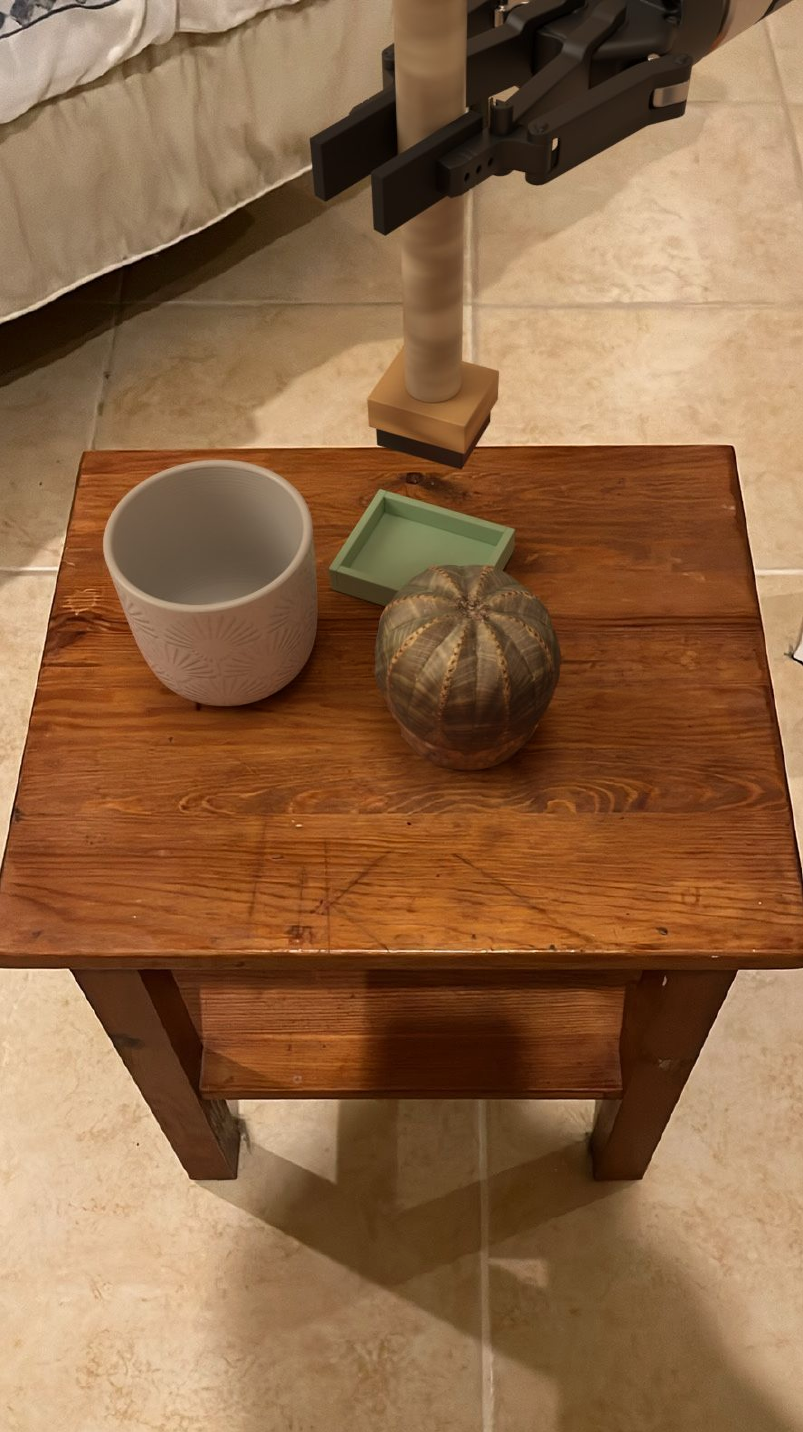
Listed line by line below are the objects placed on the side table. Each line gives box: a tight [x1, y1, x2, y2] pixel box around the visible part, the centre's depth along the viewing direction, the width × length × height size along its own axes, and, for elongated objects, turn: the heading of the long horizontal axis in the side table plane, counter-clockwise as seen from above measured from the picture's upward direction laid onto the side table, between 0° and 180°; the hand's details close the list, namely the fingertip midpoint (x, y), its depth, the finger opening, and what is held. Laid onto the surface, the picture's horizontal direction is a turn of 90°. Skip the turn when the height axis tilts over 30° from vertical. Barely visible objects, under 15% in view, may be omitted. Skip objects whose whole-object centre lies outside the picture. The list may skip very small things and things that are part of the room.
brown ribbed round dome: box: [373, 565, 562, 771], centre depth 76 cm, size 11×11×12 cm
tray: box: [328, 488, 516, 607], centre depth 88 cm, size 10×8×2 cm
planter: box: [102, 459, 319, 707], centre depth 80 cm, size 12×12×11 cm
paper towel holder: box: [366, 0, 500, 471], centre depth 62 cm, size 6×5×30 cm
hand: (348, 187), depth 58 cm, fingers closed on paper towel holder, 3 cm apart
